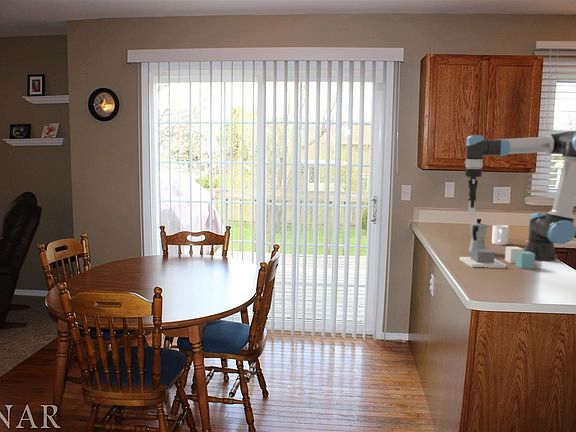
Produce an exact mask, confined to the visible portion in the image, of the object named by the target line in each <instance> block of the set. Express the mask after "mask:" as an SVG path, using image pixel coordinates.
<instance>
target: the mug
mask: <svg viewBox="0 0 576 432" xmlns="http://www.w3.org/2000/svg"><path fill="white" fill-rule="evenodd" d="M509 228H510V226H509V225H505V224H493V225H492V232H491V233H492V234H491V243H492V244H493V245H497V246H506V245H508V240H509V230H510V229H509Z"/></svg>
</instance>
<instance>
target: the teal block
mask: <svg viewBox="0 0 576 432" xmlns="http://www.w3.org/2000/svg"><path fill="white" fill-rule="evenodd" d="M535 262H536V260H535V254H534V253H532V252H529V251H516V261H515V263H514V265H515V266H516V267H518V268H519V269H529V270H530V269H531V270H532V269H533V270H535Z"/></svg>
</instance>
